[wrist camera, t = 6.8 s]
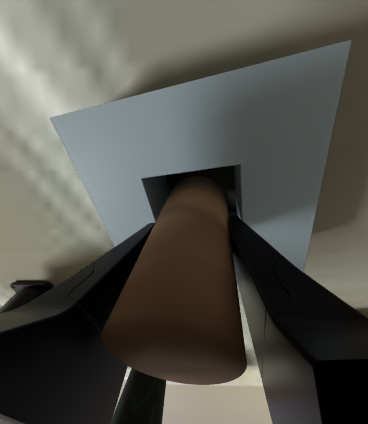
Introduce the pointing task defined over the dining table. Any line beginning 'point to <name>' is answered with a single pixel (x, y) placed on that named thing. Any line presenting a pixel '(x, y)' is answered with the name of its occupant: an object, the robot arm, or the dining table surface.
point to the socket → (217, 145)
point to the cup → (141, 400)
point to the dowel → (183, 294)
